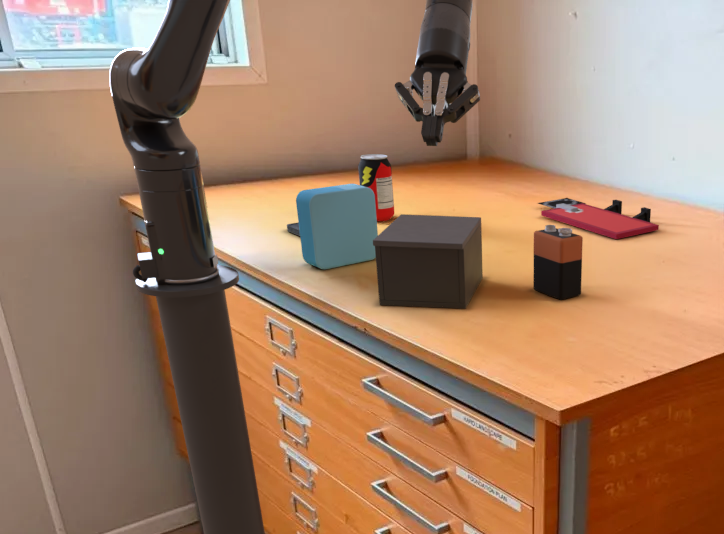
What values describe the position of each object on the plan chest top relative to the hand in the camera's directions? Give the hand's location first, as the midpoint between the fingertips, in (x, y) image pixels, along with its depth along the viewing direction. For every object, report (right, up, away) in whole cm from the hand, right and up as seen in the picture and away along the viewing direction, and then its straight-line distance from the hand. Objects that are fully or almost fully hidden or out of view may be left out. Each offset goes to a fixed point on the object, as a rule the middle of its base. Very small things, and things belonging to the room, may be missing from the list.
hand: (431, 142), depth 126 cm
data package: (-18, -13, +20) cm, 30 cm away
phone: (-25, -5, +36) cm, 44 cm away
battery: (+18, -21, +7) cm, 28 cm away
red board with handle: (+25, +2, +52) cm, 58 cm away
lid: (-1, -12, +3) cm, 13 cm away
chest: (-1, -20, +7) cm, 21 cm away
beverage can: (-18, +2, +49) cm, 52 cm away
